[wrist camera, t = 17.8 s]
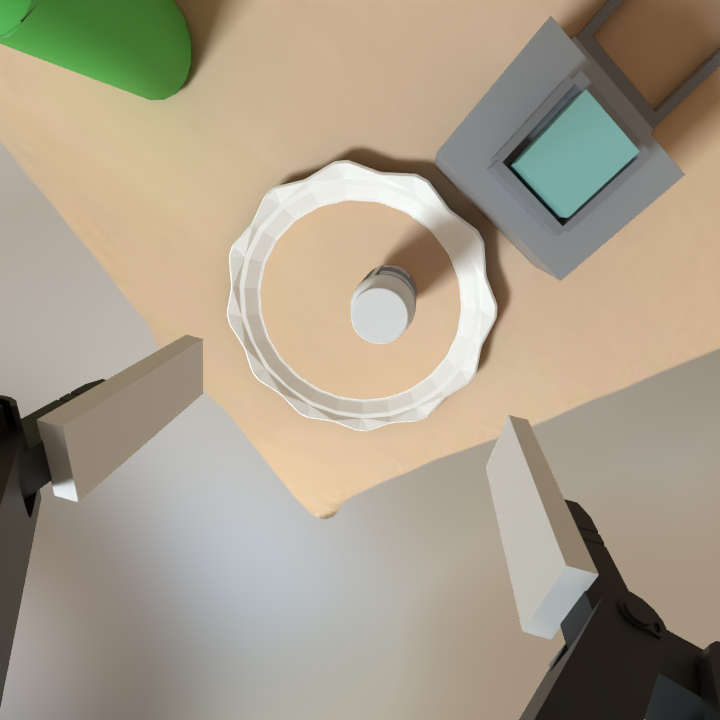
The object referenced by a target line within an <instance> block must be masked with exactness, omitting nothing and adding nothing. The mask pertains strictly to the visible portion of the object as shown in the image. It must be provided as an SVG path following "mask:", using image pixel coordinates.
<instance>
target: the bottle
mask: <svg viewBox="0 0 720 720" xmlns="http://www.w3.org/2000/svg"><path fill="white" fill-rule="evenodd" d="M0 44H2V45H5V46H8V47H10V48H13V49H16V50H18V51H21V52H24V53H26V54H29V55H32V56H34V57H37V58H40V59H42V60H45V61H48V62H50V63H53V64H55V65H58V66H61V67H63V68H66V69H69V70H71V71H74V72H77V73H79V74H82V75H85V76H87V77H90V78H93V79H95V80H98V81H101V82H103V83H106V84H109V85H111V86H114V87H117V88H119V89H122V90H125V91H128V92H130V93H133V94H136V95H138V96H141V97H144V98H146V99H149V100H165V99H166V98H168V97H170V96H172V95H174V94H175V93H177V92H178V91H179V89H180V88H181V86H182V85H183V84H184V82H185V81H186V79H187V76H188V72H189V68H190V65H191V39H190V35H189V31H188V28H187V24H186V20H185V18H184V17H183V15H182V13H181V11H180V9H179V8H178V6H177V4H176V2H175V1H174V0H0Z"/></svg>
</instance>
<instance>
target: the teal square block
mask: <svg viewBox="0 0 720 720" xmlns="http://www.w3.org/2000/svg"><path fill="white" fill-rule="evenodd" d="M639 152H640V151H639V150H638V149H637V148H636V146H635V145H634V144H633V143H632V142H631V141H630V140H629V138H628V137H627V136H626V135H625V134H624V133H623V131H622V130H621V129H620V128H619V127H618V126H617V124H616V123H615V122H614V121H613V120H612V119H611V117H610V116H609V115H608V114H607V113H606V112H605V110H604V109H603V108H602V107H601V106H600V105H599V103H598V102H597V101H596V100H595V99H594V98H593V96H592V95H591V94H590V93H589V92H588V91H587V89H585V90H584V91H583V92H581V93H580V94H578V95H577V96H576V97H574V98H573V99H571V100H570V101H569V102H567V104H566V105H565V106H564V107H563V108H562V109H561V110H560V111H559V112H558V113H557V114H556V115H555V116H554V117H553V118H552V120H551V121H550V122H549V123H548V124H547V125H546V126H545V127H544V128H543V129H542V130H541V131H540V132H539V133H538V134H537V136H536V137H535V138H534V139H533V140H532V141H531V142H530V143H529V144H528V145H527V146H526V147H525V148H524V149H523V150H522V152H521V153H520V154H519V155H518V156H517V157H516V158H515V159H514V160H513V161H512V162H511V163H510V164H509V165H508V166H507V168H508V169H509V170H510V171H511V172H512V173H513V174H514V175H515V176H516V177H517V178H518V179H519V180H520V181H521V182H522V184H523V185H524V186H525V187H526V188H527V189H528V190H529V191H530V192H531V193H532V194H533V195H534V196H535V197H536V198H537V200H538V201H539V202H540V203H541V204H542V205H543V206H544V207H545V208H546V209H547V210H548V211H549V212H550V213H551V214H552V215H553V216H554V217H565V218H568V217H569V216H570V215H572V214H573V213H574V212H575V211H576V210H577V209H578V208H579V207H580V206H581V205H582V204H583V203H585V202H586V201H587V200H588V199H589V198H590V197H591V196H592V195H593V194H594V193H595V192H596V191H598V190H599V189H600V188H601V187H602V186H603V185H604V184H605V183H606V182H607V181H608V180H609V179H611V178H612V177H613V176H614V175H615V174H616V173H617V172H618V171H619V170H620V169H621V168H622V167H624V166H625V165H626V164H627V163H628V162H629V161H630V160H631V159H632V158H633V157H634V156H635V155H637V154H638V153H639Z"/></svg>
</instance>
